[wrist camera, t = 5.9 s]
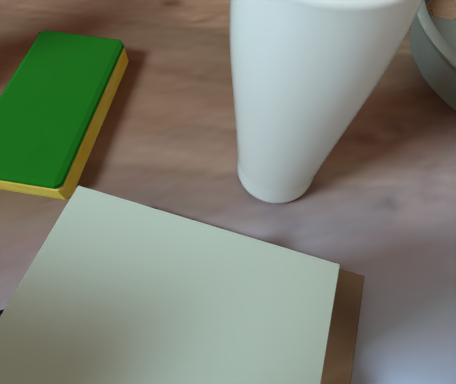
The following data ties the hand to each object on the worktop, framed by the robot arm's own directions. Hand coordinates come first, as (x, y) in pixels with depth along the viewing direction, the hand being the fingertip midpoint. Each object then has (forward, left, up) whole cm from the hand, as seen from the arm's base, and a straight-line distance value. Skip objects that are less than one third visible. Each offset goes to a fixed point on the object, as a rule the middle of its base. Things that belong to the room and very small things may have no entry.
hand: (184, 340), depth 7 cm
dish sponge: (+15, +14, -14) cm, 25 cm away
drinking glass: (+12, -3, -13) cm, 18 cm away
